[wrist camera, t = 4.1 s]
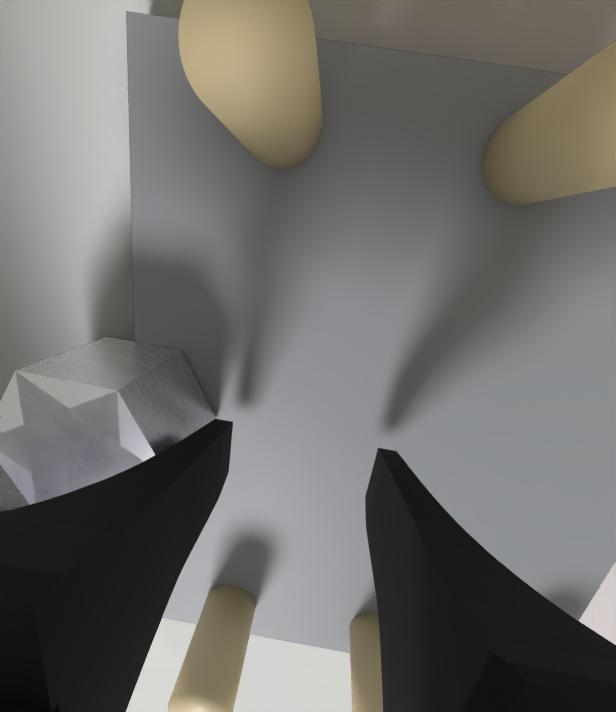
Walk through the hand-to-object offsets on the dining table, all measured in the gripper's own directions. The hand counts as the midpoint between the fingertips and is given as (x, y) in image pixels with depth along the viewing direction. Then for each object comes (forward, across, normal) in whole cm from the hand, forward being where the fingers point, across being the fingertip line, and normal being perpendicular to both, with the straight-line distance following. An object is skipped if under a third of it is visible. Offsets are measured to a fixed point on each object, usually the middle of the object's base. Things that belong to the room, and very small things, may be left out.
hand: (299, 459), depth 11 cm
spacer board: (+3, -3, 0) cm, 4 cm away
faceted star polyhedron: (+2, +6, 0) cm, 7 cm away
